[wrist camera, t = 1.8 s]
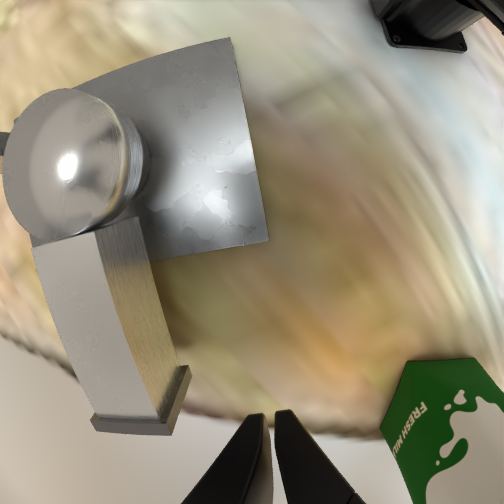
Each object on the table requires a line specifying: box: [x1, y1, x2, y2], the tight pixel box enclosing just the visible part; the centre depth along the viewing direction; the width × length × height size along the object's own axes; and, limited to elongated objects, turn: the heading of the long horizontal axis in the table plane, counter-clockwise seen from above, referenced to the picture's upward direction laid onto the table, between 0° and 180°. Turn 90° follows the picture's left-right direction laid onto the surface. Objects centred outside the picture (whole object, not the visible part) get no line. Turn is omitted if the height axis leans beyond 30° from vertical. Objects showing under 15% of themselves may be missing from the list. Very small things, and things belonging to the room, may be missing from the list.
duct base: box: [0, 37, 269, 262], centre depth 14 cm, size 16×12×6 cm
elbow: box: [2, 88, 192, 436], centre depth 13 cm, size 16×6×5 cm, turn 10°
